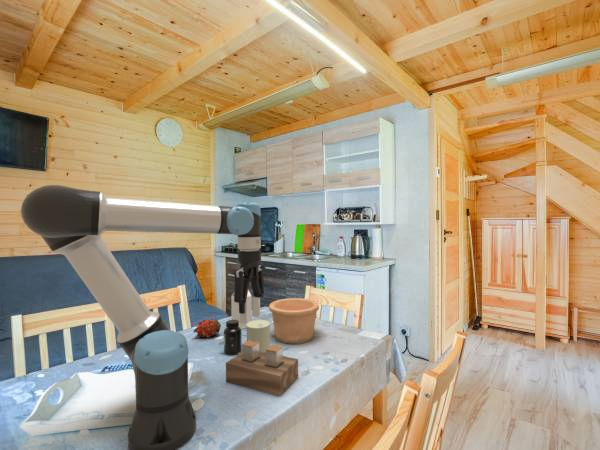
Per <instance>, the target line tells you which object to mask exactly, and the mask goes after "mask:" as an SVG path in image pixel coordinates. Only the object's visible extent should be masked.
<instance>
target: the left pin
mask: <svg viewBox="0 0 600 450" xmlns="http://www.w3.org/2000/svg"><path fill="white" fill-rule="evenodd" d="M241 353H242V361H247V362H251V363H253V362H255V361H256V360H257V359H259V342H255V341H250V340H249V341H247V340H246V341H245V342H244V343H243V344H242V350H241Z"/></svg>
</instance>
